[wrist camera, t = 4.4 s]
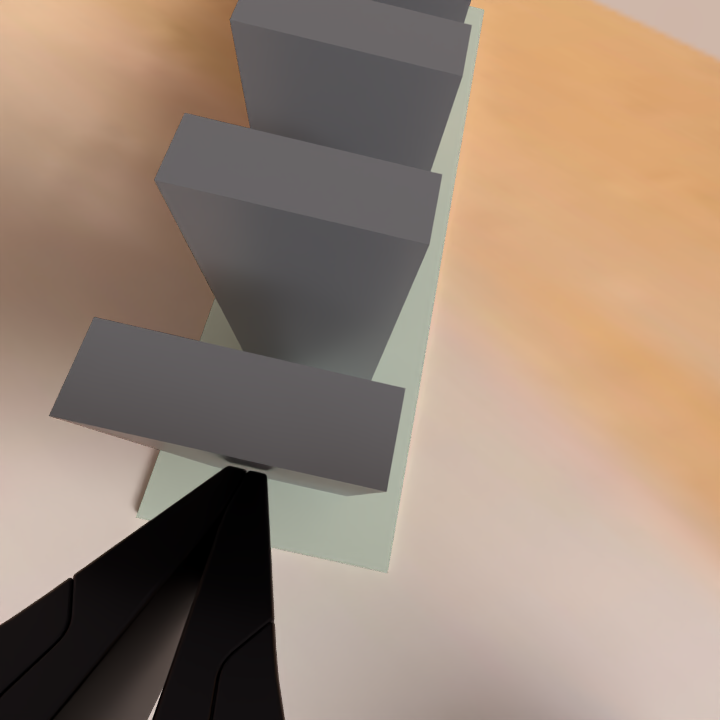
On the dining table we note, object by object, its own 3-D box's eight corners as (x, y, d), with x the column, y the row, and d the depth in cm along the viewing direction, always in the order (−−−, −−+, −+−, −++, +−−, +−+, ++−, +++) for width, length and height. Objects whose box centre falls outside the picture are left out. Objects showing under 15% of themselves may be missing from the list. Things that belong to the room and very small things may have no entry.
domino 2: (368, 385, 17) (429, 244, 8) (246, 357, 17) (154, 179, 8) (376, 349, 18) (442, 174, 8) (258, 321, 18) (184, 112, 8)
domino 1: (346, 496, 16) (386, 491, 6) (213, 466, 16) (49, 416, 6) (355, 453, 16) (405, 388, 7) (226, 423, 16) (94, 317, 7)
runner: (386, 571, 15) (387, 573, 15) (139, 517, 15) (135, 517, 15) (482, 15, 25) (484, 9, 25) (332, -22, 25) (332, -28, 25)
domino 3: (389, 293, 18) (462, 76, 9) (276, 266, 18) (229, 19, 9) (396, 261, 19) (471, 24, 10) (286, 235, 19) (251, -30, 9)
